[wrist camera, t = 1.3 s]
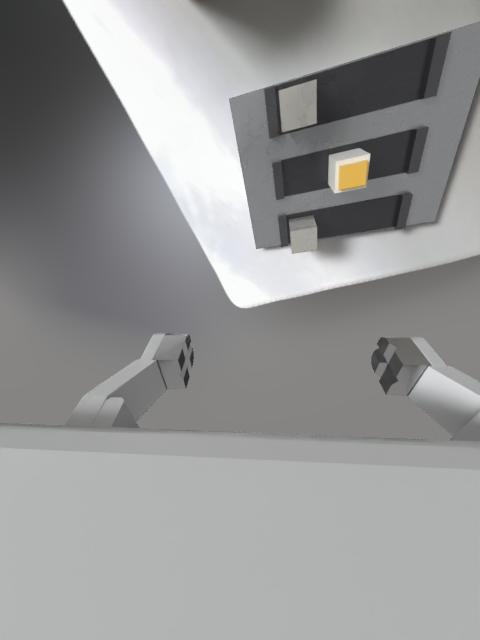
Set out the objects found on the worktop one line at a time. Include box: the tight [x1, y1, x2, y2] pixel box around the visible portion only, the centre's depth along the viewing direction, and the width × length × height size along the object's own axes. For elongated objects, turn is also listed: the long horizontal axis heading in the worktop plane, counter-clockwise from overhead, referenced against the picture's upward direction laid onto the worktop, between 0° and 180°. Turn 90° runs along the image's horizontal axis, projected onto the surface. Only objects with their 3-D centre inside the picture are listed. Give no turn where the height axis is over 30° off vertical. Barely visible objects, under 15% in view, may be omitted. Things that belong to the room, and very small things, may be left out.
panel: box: [229, 22, 480, 254], centre depth 25 cm, size 22×16×6 cm
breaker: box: [328, 148, 370, 193], centre depth 24 cm, size 3×3×4 cm
